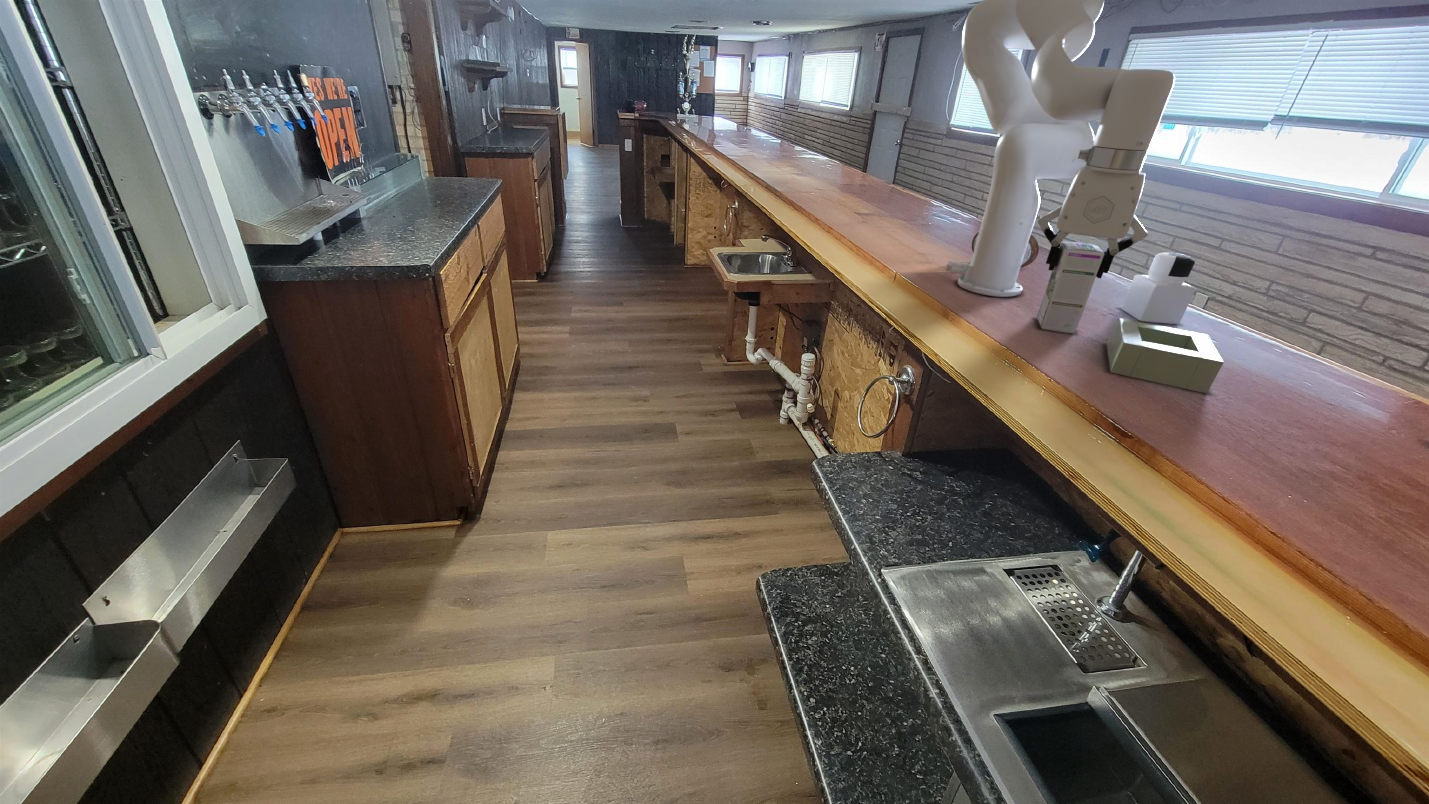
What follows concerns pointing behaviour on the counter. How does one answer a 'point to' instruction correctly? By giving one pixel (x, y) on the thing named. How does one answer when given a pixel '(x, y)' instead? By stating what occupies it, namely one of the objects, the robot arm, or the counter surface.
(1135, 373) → the socket block
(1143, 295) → the medicine bottle
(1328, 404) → the counter surface
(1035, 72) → the robot arm
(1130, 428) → the counter surface
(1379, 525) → the counter surface
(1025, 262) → the tin
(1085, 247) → the syrup box
